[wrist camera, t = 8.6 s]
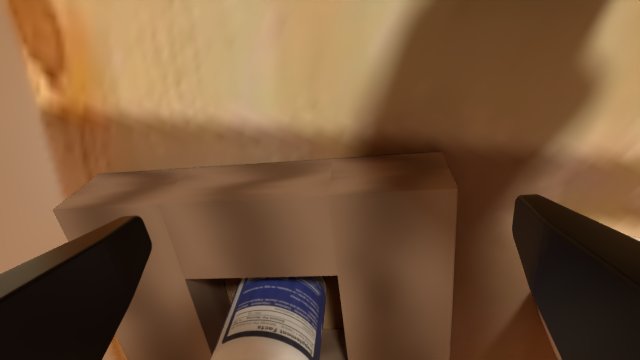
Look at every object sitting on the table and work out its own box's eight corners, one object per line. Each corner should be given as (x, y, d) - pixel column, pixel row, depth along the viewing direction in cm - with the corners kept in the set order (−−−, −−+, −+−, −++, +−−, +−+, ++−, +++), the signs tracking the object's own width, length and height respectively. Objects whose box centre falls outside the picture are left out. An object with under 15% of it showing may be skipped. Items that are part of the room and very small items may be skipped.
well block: (442, 151, 21) (458, 188, 17) (436, 374, 29) (446, 430, 26) (98, 174, 24) (52, 209, 20) (181, 372, 32) (159, 421, 29)
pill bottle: (298, 326, 28) (268, 486, 20) (228, 288, 27) (164, 440, 18) (344, 278, 26) (335, 437, 17) (270, 234, 25) (218, 380, 16)
